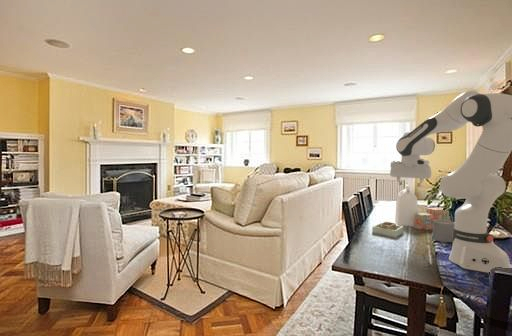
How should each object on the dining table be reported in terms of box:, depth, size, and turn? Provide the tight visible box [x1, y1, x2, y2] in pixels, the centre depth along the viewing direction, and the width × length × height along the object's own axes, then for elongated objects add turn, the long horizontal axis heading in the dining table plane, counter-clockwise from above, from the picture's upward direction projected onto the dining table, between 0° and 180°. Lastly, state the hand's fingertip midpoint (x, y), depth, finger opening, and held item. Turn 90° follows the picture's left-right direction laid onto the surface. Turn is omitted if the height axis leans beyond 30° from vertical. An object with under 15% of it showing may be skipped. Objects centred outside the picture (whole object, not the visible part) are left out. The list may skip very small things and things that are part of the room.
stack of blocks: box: [413, 207, 451, 231], centre depth 178 cm, size 21×6×12 cm, turn 101°
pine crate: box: [380, 221, 397, 230], centre depth 166 cm, size 6×9×5 cm, turn 136°
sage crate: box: [371, 222, 404, 239], centre depth 166 cm, size 13×13×4 cm
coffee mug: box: [432, 220, 455, 243], centre depth 153 cm, size 13×10×10 cm
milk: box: [394, 184, 419, 227], centre depth 188 cm, size 12×12×26 cm
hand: (409, 185), depth 157 cm, fingers open, 8 cm apart
